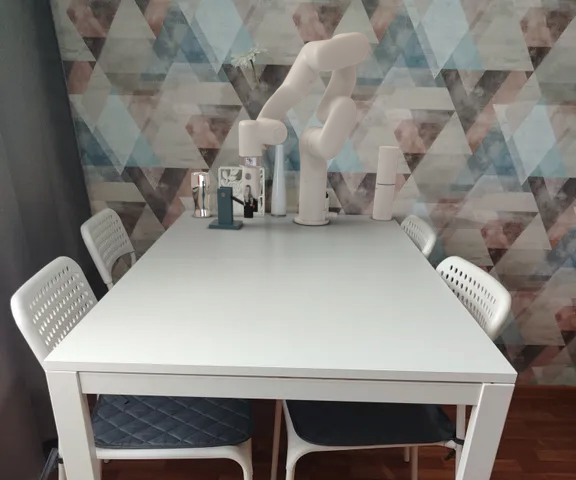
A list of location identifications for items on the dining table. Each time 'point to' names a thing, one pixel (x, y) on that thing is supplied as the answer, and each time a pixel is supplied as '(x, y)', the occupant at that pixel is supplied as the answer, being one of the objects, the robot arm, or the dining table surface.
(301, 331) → the dining table surface
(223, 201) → the bracket
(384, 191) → the cylindrical container
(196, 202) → the metal tumbler
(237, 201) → the lever
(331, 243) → the dining table surface
